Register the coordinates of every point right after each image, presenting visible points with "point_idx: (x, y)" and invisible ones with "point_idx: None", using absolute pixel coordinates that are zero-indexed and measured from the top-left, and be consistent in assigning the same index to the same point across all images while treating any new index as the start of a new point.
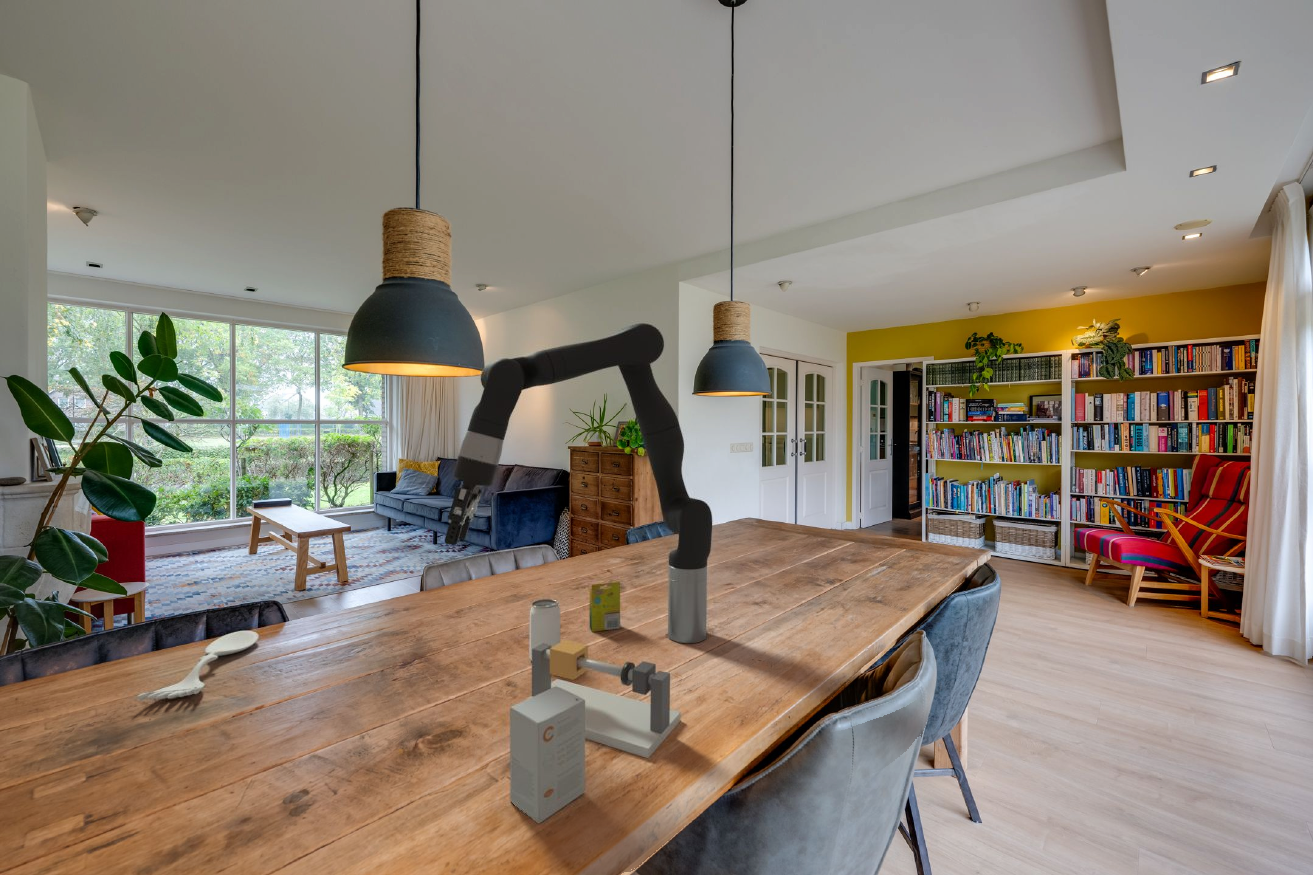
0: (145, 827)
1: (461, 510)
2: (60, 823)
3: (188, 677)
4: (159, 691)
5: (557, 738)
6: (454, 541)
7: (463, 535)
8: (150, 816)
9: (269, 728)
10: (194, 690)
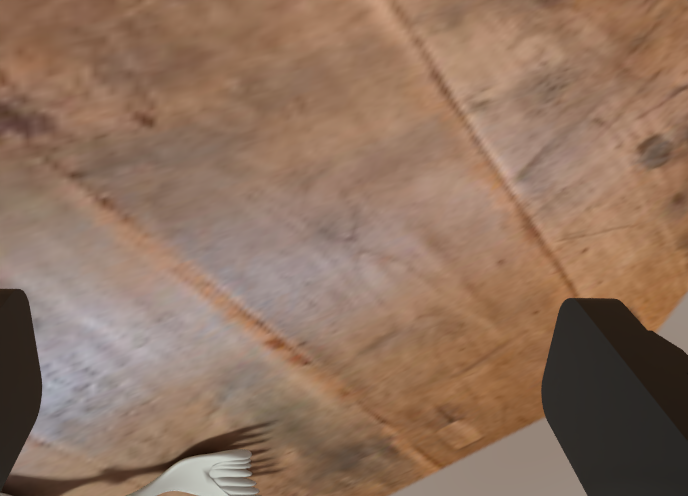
0: None
1: None
2: None
3: (163, 490)
4: (222, 492)
5: None
6: (655, 335)
7: (2, 340)
8: None
9: (375, 291)
10: (249, 456)
